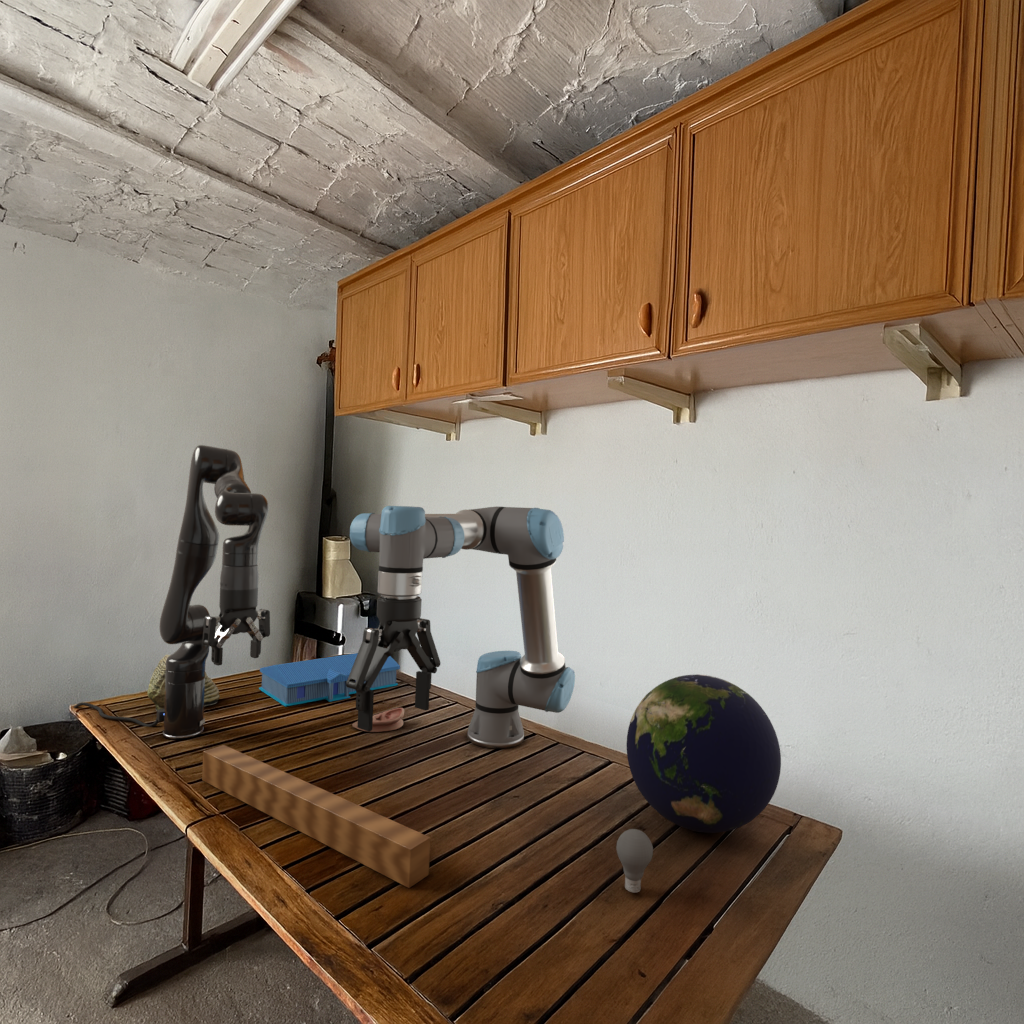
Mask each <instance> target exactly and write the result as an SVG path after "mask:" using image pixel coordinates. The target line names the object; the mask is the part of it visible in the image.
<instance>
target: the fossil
mask: <svg viewBox="0 0 1024 1024" xmlns="http://www.w3.org/2000/svg"><path fill="white" fill-rule="evenodd" d="M170 655H171V654H165V655H164V656H163V657H162V658H161V659H160V660H159V662H158V663H157V666H156V667H155V669H154V670H153V672H152V675H151V677H150V680H149V684H148V688H147V697H148V699H149V700H150V701H152V703H153V704H154V706H155V711H157V710H159V709H164V705H165V674H166V660H167V658H168V657H169V656H170ZM220 698H221V696H220V690H219V688H218V686H217V685H216V683H215V682H214V681H213V679H212V678H211V677H209V675H208V674H207V672H206V671H205V693H204V707H207V706H213V705H215V704H217V703H218V701H219V699H220Z"/></svg>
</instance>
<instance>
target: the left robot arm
mask: <svg viewBox="0 0 1024 1024" xmlns="http://www.w3.org/2000/svg"><path fill="white" fill-rule="evenodd" d="M188 474H189V475H188V483H187V492H186V500H185V506H184V512H183V517H182V520H181V526H180V530H179V535H178V538H177V539H178V540H177V545H176V552H175V557H174V565H173V569H172V573H171V578H170V583H169V587H168V589H167V590H168V591H167V594H166V598H165V600H164V603H163V608H162V611H161V615H160V618H159V625H158V626H159V634H160V637H161V640H162V641H163V642H164V643H165V644H168V645H179V644H181V645H180V646H179V648H178V649H177V650H175V651H174V652H173V653H172V654H169V655H170V656H169V657H168V658H167V660H166V674H165V705H164V709H159V710H156V717H155V721H154V722H152V723H145V722H143V721H141V720H139V719H137V718H133V717H125V716H116V715H115V716H113V715H110V714H109V715H108V714H105V713H104V711H103V709H102V708H101V707H99V706H97V705H94V704H92V703H90V702H85V701H83V702H82V701H81V702H78V703H76V704H75V705H74V706H73V709H78V708H79V707H82V706H83V707H87V708H90V709H92V710H96V711H97V712H98V713H99V716H100V717H101V718H103V719H107V720H113V721H126V722H132V723H135V724H137V725H139V726H143V727H149V728H153V727H155V726H157V725H158V724H159V723H160V722H163V731H162V737H164V738H166V739H169V740H185V739H190V738H191V739H192V738H194V737H197V736H199V735H202V734H203V732H204V730H205V729H204V724H205V723H206V717H205V706H204V693H205V672H206V664H207V663H206V662H207V659H208V656H209V653H210V647H211V653H210V654H211V658H210V660H211V662H212V663H213V665H214V666H217V667H218V666H222V665H223V652H224V647H223V645H224V644H225V643H226V640H229V639H230V638H231V636H232V635H238V634H241V633H242V634H245V633H247V635H249V637H250V638H251V640H250V649H249V652H250V653H249V656H250V657H251V658H252V659H259V657H260V655H261V653H262V652H261V651H262V641H263V639H264V638H267V637H270V636H271V612H270V610H268V609H264V608H260V609H259V610H257V607H258V605H259V603H258V602H259V600H258V599H259V566H258V564H259V547H260V546H259V545H260V542H261V541H260V540H261V537H262V533H263V529H264V528H265V525H266V521H267V518H268V515H269V510H270V506H269V501H268V499H267V497H266V496H265V495H263V494H262V493H258V492H257V493H255V492H252V491H251V489H250V487H249V486H248V484H247V482H246V481H245V475H244V469H243V463H242V459H241V456H240V455H239V454H238V452H236V451H235V450H232V449H227V448H224V447H216V446H210V445H206V444H205V445H204V444H199V445H197V446H195V448H194V449H193V452H192V456H191V459H190V466H189V473H188ZM204 483H205V484H212V485H214V486H213V487H214V488H213V491H214V495H215V497H216V501H215V505H214V515H215V518H216V520H217V521H218V523H220V524H222V525H224V526H233V527H234V526H237V527H238V526H239V527H243V526H245V527H247V526H248V528H247V530H246V531H245V532H244V533H243V534H239V535H236V536H229V537H227V538H225V539H224V541H223V542H222V555H221V556H222V558H221V559H222V562H221V570H220V578H219V579H220V581H219V604H218V606H219V614H218V615H215V616H212V615H211V614H210V612H209V610H208V609H207V607H206V606H205V605H202V604H191V601H192V597H193V596H194V593H195V591H196V590H197V587H198V586H199V585H200V583H201V582H202V581H203V580H204V578H205V577H206V575H207V574H208V573H209V571H210V570H211V569H212V568H213V566H214V563H215V561H216V558H217V553H218V549H219V543H220V531H219V529H218V526H217V525H216V523H215V520H214V519H213V517H212V514H211V512H210V510H209V508H208V506H207V503H206V500H205V496H204ZM257 620H258V626H257V625H256V624H255V622H256V621H257ZM219 624H220V626H219ZM218 626H219V627H218ZM217 627H218V628H217ZM216 629H217V630H216Z"/></svg>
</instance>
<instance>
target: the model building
mask: <svg viewBox="0 0 1024 1024" xmlns="http://www.w3.org/2000/svg"><path fill="white" fill-rule="evenodd" d="M357 654H358V652H356V653H349V654H342V655H341V654H340V655H335V656H329V657H328V656H327V657H321V658H315V659H314V658H313V659H307V660H300V661H293V662H287V663H278V664H272V665H268V666H264V667H263V666H262V667H260V668H259V672H260V673H261V686H260V687H258V690H260V691H261V692H262V693H264V694H265V695H267V696H268V697H270V698H271V699H273V700H274V701H276V702H277V703H279V704H280V705H282V706H283V707H290V706H297V705H302V704H307V703H312V702H317V701H323V700H325V701H327V702H329V703H330V702H335V701H341V700H346V699H347V700H348V699H350V698H351V695H353V694H356V690H355V689H352V688H348V687H347V686H346V682H347V680H348V677H349V674H350V672H351V669H352V667H353V664H354V662H355V659H356V657H357ZM400 669H401V665H400V664H399V663H398V662H397V661H396V660H395V659H394V658H393V657H392V655H391V656H389V657H388V658H387V660H386V662H385V664H384V665H383V667H382V669H381V671H380V672H379V674H378V676H377V678H376V679H375V681H374V683H373V685H372V686H371V688H370V690H373V691H374V690H381V689H385V688H390V687H391V688H392V687H395V686H399V683H398V682H397V670H400ZM355 681H356V680H355ZM365 682H366V681H365ZM365 682H364V683H365Z"/></svg>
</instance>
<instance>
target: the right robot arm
mask: <svg viewBox="0 0 1024 1024" xmlns="http://www.w3.org/2000/svg"><path fill="white" fill-rule="evenodd" d="M349 539H350V542H351V544H352V546H353V547H354V548H356V549H357V550H359V551H364V552H367V553H379V559H378V560H379V563H378V564H379V565H378V574H377V575H378V576H377V594H379V596H378V597H377V598H376V617H377V619H378V621H379V624H378V627H377V628H372V627H364V629H363V634H362V642H361V644H360V646H359V649H358V651H357V653H358V654H357V657H356V659H355V662H354V664H353V667H352V669H351V672H350V674H349V677H348V680H347V682H346V686H347V687H348V688H352V689H355V690H356V693H355V709H356V710H357V721H358V726H357V728H360V729H363V730H366V731H372V726H373V715H374V697H375V691H374V690H370V688H371V686H372V685H373V683H374V681H375V679H376V678H377V676H378V674H379V672H380V671H381V669H382V667H383V665H384V664H385V662H386V660H387V658H388V657H389V656H391V657H392V655H393V654H394V653H397V652H399V651H402V650H407V652H408V654H409V655H410V657H411V659H412V660H413V661H414V662H415V664H416V666H417V667H418V669H419V670H418V671H416V673H415V694H414V708H416V709H419V710H422V711H430V710H429V709H430V690H431V688H432V676H433V675H432V674H436V673H437V671H438V668H439V667H440V666H441V659H440V656H439V654H438V650H437V646H436V644H435V641H434V637H433V634H432V629H431V620H430V619H427V618H422V617H421V616H422V598H421V596H419V595H421V594H422V590H423V589H422V588H423V570H424V560H426V559H437V558H442V559H445V558H448V557H452V556H454V555H456V554H458V553H459V552H460V551H461V550H474V551H480V552H486V553H491V554H497V555H507V558H508V566H509V568H511V569H513V570H514V571H515V575H516V585H517V593H518V602H519V603H518V604H519V612H520V613H519V614H520V622H521V630H522V632H521V633H522V641H523V642H522V643H523V650H524V655H523V656H522V655H521V652H519V651H517V650H496V651H495V650H494V651H490V652H486V653H484V654H482V655H480V656H479V657H478V659H477V665H476V671H475V673H476V677H475V681H476V683H475V706H474V707H475V708H474V711H473V714H472V717H471V719H470V722H469V725H468V728H467V736H466V737H467V740H468V741H469V742H470V743H471V744H473V745H475V746H478V747H482V748H486V749H495V750H499V749H509V748H513V747H517V746H519V745H521V744H522V743H523V742H524V739H525V731H524V726H523V722H522V720H521V715H520V712H519V707H520V706H521V707H525V708H530V709H535V710H541V711H544V712H546V713H548V712H550V713H554V714H555V713H556V714H559V713H561V712H563V711H565V709H567V707H568V705H569V703H570V701H571V698H572V696H573V693H574V689H575V682H576V673H575V670H574V669H573V668H571V667H570V666H566V658H565V656H564V654H562V653H561V652H560V651H559V643H558V634H557V633H558V632H557V623H556V611H555V600H554V589H553V588H554V587H553V577H552V567H553V566H555V564H556V563H557V558H559V557H560V556H561V555H562V552H563V550H564V542H565V534H564V528H563V524H562V522H561V520H560V517H559V516H558V515H557V514H556V513H555V512H554V511H553V510H551V509H546V508H545V509H544V508H539V507H515V506H488V507H480V508H471V509H461V510H459V511H457V512H456V513H426V511H425V509H424V508H423V507H421V506H413V505H411V506H410V505H409V506H408V505H407V506H406V505H387V506H384V507H383V508H382V510H381V513H375V512H370V513H368V512H366V513H365V512H363V513H359V514H358V515H356V516H355V517H354V519H352V521H351V524H350V527H349ZM355 680H356V681H355ZM365 681H366V682H365ZM364 682H365V683H364ZM357 728H356V729H357ZM366 731H365V732H366Z"/></svg>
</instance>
